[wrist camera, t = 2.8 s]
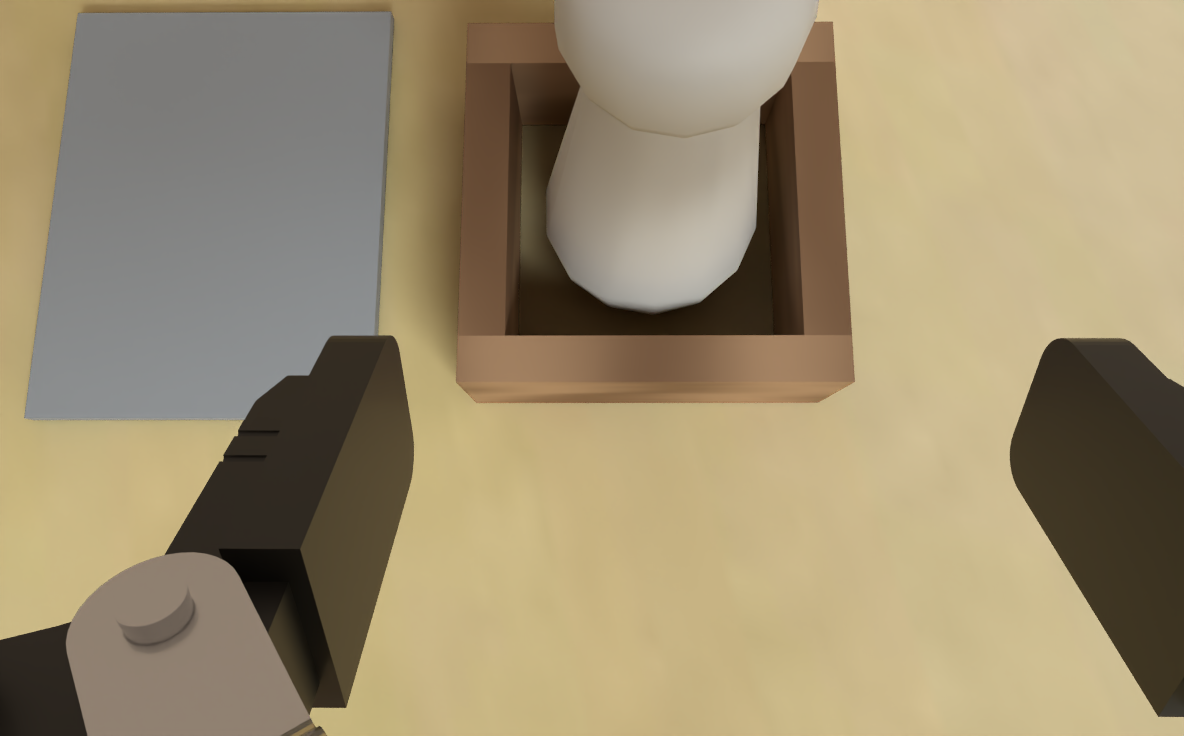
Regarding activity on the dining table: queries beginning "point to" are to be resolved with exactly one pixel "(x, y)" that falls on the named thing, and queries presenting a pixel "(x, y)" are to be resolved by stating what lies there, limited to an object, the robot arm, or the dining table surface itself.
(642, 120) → the salt shaker
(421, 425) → the dining table surface
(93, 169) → the rubber mat
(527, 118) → the pocket block
